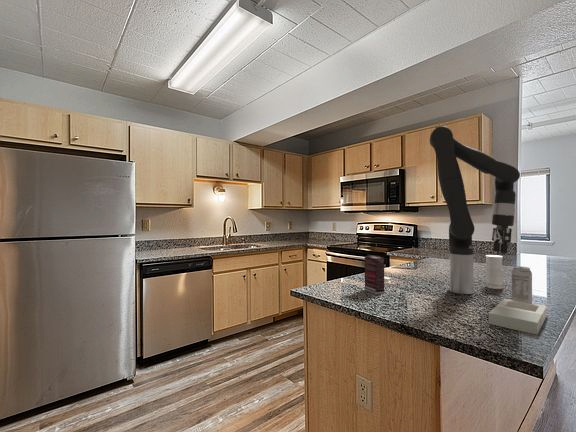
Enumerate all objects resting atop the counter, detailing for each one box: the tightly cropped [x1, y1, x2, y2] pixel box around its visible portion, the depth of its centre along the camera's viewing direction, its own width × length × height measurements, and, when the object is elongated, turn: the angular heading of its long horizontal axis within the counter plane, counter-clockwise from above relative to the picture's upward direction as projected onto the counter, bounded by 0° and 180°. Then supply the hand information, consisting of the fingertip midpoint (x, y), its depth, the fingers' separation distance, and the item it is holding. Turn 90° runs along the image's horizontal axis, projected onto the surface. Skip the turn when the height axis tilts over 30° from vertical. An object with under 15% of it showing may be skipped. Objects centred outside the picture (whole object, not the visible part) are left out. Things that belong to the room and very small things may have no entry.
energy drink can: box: [511, 265, 533, 304], centre depth 111 cm, size 6×6×15 cm
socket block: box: [488, 298, 548, 336], centre depth 98 cm, size 12×22×4 cm, turn 133°
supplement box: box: [364, 255, 385, 295], centre depth 134 cm, size 9×5×16 cm, turn 22°
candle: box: [484, 254, 504, 290], centre depth 140 cm, size 7×7×15 cm
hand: (499, 252), depth 125 cm, fingers open, 8 cm apart
